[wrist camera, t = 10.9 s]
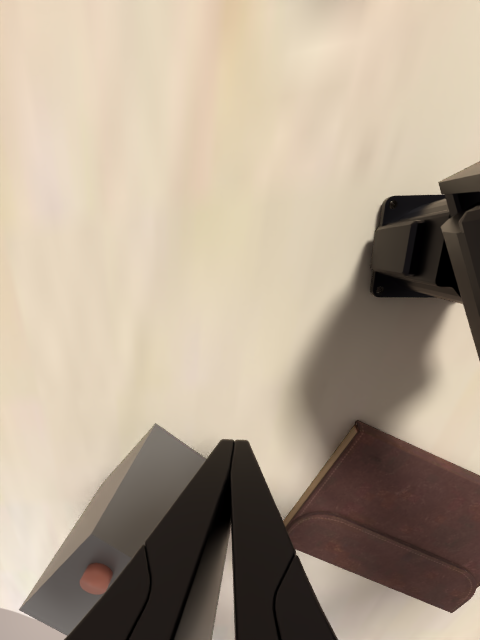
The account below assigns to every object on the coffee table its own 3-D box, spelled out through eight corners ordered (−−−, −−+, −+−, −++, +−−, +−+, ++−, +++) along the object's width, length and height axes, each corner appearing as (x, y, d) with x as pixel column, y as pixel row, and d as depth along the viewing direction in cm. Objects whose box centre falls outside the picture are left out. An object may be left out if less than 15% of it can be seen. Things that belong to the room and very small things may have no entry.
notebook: (354, 415, 21) (364, 432, 19) (541, 500, 22) (568, 523, 21) (275, 523, 25) (277, 545, 24) (436, 590, 27) (450, 616, 25)
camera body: (155, 423, 22) (83, 546, 13) (216, 466, 23) (189, 608, 14) (95, 491, 25) (1, 632, 16) (151, 527, 26) (93, 679, 17)
